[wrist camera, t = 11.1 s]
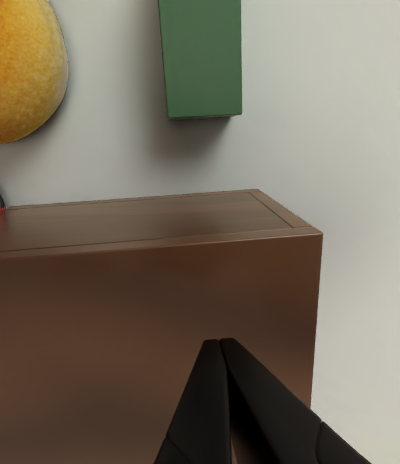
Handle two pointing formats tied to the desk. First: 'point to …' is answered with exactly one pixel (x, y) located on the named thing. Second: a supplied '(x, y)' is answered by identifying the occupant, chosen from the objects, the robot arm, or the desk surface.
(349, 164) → the desk surface
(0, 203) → the race car
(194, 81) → the dark green foam brick
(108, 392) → the cabinet
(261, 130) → the desk surface
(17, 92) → the bread roll
